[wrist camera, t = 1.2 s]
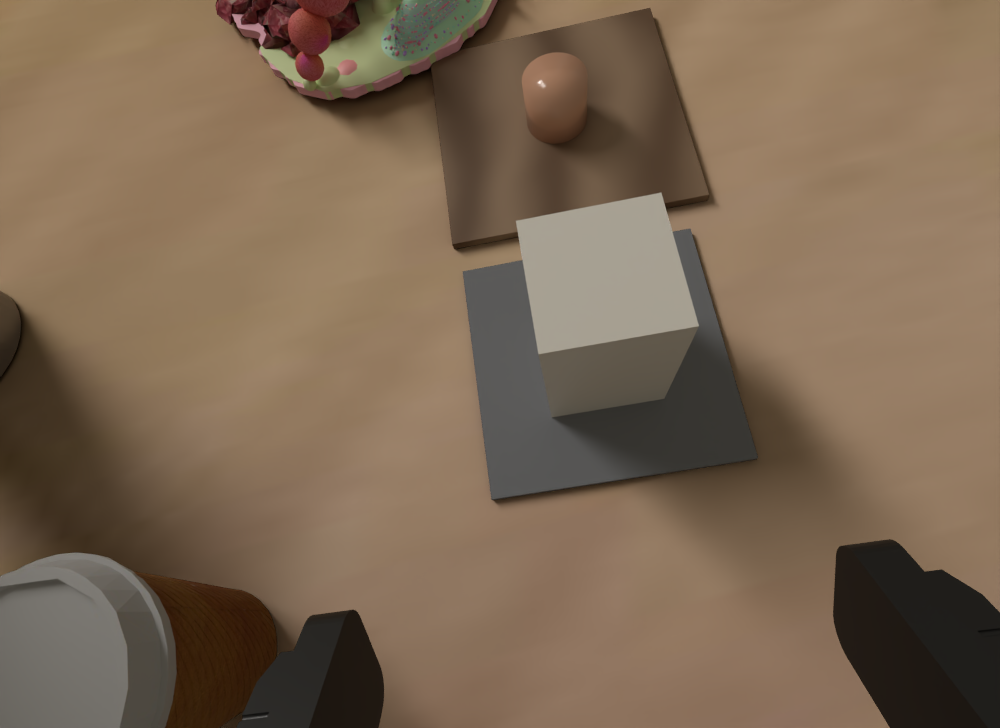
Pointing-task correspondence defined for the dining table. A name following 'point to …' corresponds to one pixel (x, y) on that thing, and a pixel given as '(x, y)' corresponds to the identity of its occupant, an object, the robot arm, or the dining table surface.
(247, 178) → the dining table surface
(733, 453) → the mat
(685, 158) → the board
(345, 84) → the pastel sphere sculpture
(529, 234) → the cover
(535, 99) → the glossy tan pebble
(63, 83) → the dining table surface
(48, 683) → the disposable coffee cup
